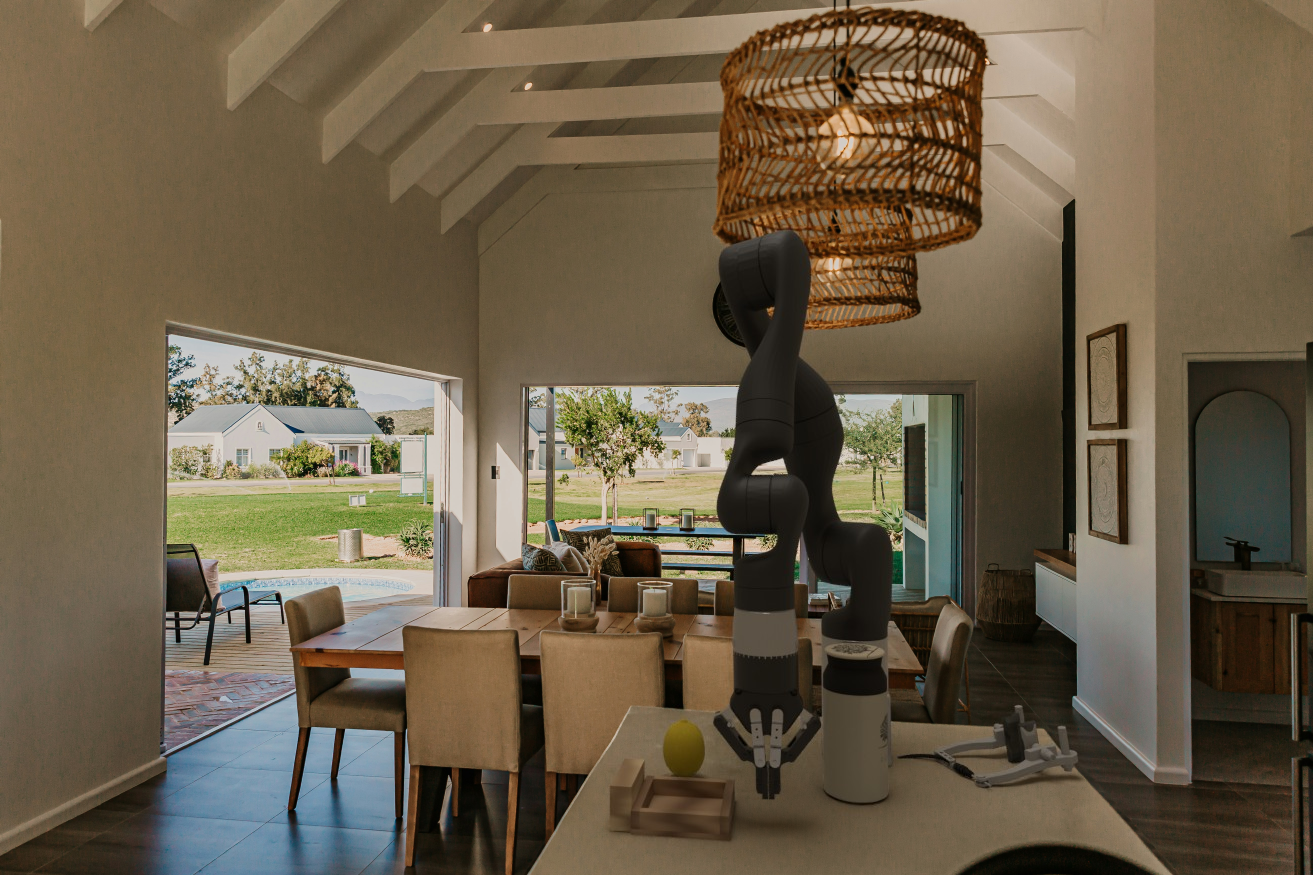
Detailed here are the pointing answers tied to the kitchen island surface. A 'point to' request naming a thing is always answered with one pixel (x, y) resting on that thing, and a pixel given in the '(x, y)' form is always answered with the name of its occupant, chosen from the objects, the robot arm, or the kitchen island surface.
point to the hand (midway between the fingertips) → (768, 796)
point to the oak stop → (625, 793)
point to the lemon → (683, 748)
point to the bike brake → (1009, 751)
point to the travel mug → (855, 723)
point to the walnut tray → (684, 808)
